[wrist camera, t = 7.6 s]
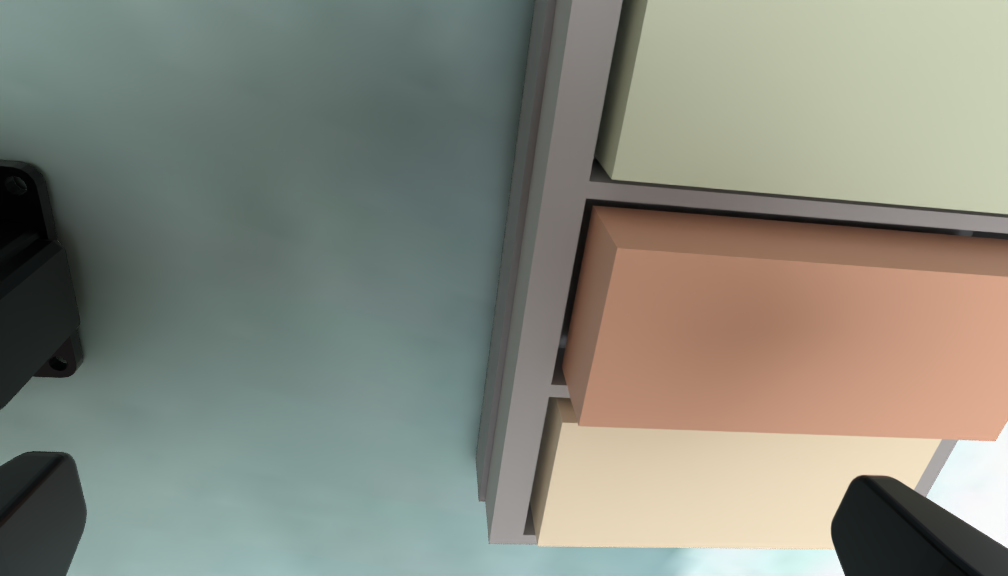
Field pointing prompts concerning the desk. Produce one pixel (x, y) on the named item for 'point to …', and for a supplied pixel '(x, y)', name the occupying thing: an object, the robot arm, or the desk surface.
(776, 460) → the sand key
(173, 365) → the desk surface
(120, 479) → the desk surface
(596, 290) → the terracotta key
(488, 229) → the desk surface
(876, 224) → the pastel key tray
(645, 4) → the sage key
